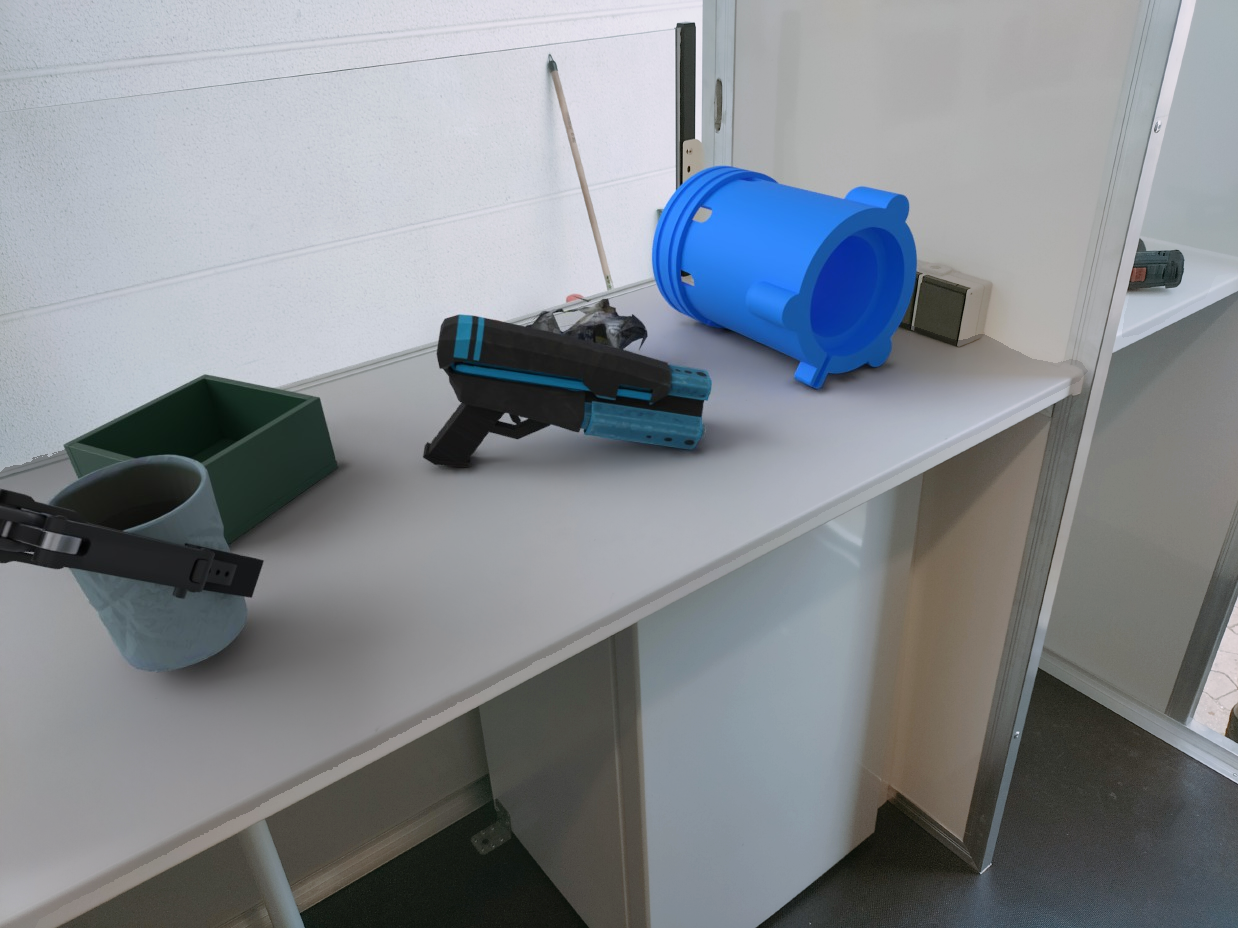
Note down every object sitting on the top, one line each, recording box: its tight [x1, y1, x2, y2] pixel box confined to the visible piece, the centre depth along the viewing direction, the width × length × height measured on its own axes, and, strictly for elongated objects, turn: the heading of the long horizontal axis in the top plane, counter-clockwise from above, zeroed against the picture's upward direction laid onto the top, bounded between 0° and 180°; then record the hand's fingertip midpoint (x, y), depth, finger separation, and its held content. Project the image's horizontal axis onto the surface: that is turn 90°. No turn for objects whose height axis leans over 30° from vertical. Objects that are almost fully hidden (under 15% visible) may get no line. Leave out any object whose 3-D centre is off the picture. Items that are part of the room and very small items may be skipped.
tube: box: [651, 165, 918, 390], centre depth 100 cm, size 25×22×19 cm
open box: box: [62, 373, 339, 545], centre depth 80 cm, size 16×16×8 cm
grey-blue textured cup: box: [41, 455, 248, 673], centre depth 59 cm, size 10×10×12 cm
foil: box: [525, 295, 649, 351], centre depth 99 cm, size 12×11×15 cm
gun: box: [422, 313, 713, 468], centre depth 83 cm, size 8×26×15 cm, turn 97°
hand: (199, 562), depth 62 cm, fingers closed on grey-blue textured cup, 10 cm apart
